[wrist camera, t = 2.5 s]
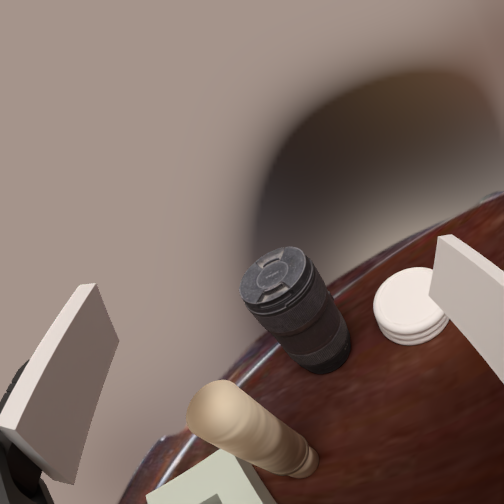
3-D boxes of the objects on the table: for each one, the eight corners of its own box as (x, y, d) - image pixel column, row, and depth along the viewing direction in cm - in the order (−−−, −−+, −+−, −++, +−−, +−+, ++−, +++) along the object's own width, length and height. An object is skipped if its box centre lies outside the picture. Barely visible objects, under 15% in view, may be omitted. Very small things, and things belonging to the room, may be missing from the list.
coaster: (366, 309, 40) (359, 293, 38) (425, 272, 38) (421, 253, 37) (399, 362, 31) (394, 346, 29) (467, 315, 29) (466, 297, 28)
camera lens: (292, 342, 42) (235, 268, 35) (345, 317, 40) (299, 233, 33) (303, 389, 35) (237, 317, 28) (364, 361, 34) (317, 276, 26)
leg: (307, 434, 30) (225, 368, 22) (331, 462, 26) (253, 409, 18) (273, 460, 29) (178, 405, 22) (295, 490, 25) (197, 450, 17)
